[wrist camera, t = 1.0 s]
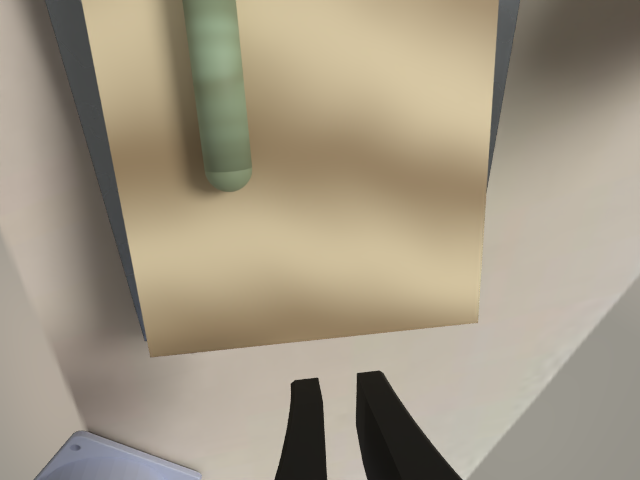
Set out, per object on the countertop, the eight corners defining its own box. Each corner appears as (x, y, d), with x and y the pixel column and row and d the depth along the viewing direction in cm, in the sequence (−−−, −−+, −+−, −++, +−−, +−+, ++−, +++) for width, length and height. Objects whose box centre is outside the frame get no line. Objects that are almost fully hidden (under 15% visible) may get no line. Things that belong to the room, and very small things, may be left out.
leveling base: (454, 289, 23) (466, 308, 21) (151, 319, 21) (144, 341, 20) (514, -104, 15) (539, -112, 13) (37, -98, 13) (13, -107, 12)
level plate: (466, 310, 18) (496, 342, 15) (156, 342, 17) (139, 381, 14) (486, -51, 14) (529, -80, 12) (85, -42, 13) (46, -72, 10)
